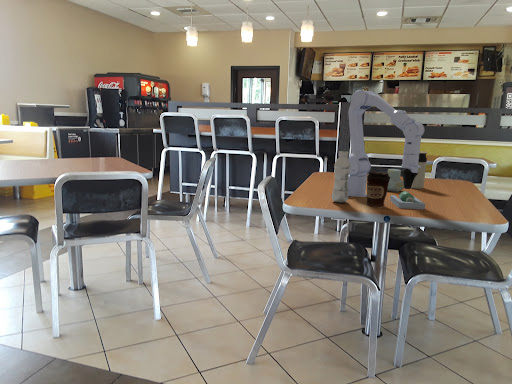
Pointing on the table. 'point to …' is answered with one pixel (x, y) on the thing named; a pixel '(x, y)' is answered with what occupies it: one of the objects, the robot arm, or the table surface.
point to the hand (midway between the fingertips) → (407, 188)
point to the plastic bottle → (341, 177)
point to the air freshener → (395, 180)
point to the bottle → (406, 197)
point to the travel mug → (420, 171)
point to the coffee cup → (377, 188)
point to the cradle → (407, 203)
